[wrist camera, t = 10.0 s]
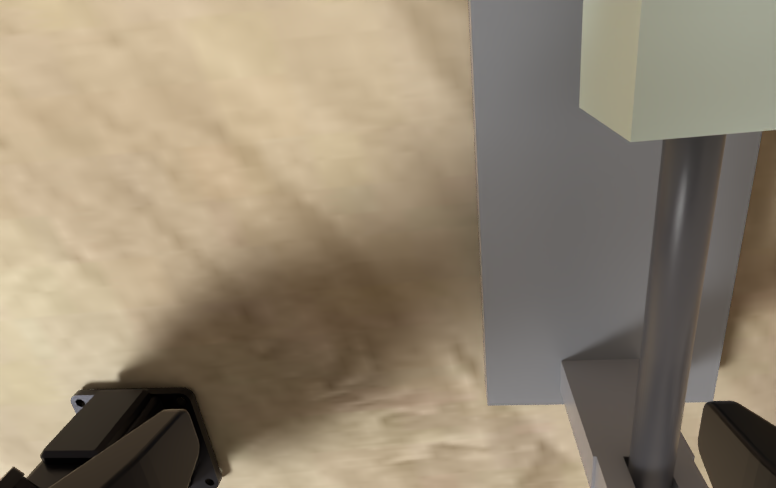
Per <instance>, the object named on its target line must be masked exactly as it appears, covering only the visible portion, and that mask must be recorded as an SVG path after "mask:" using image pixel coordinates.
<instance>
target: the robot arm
mask: <svg viewBox="0 0 776 488" xmlns="http://www.w3.org/2000/svg"><path fill="white" fill-rule="evenodd" d="M181 397H182V398H181ZM183 398H184V399H183ZM71 404H72V406H73V408H74V410H75V412H76V415H75V416H74V417H73V418H72V420H71V421H70V422H69V423H68V424H67V425H66V426H65V427H64V428H63V429H62V430H61V431H60V432H59V434H58V435H57V436H56V437H55V438H54V439H53V440H52V441H51V442H50V443H49V444H48V445H47V446H46V448H45V449H44V450H43V452H42V453H41V455H40V456H41V459H42V461H41V462H40V464H39V465H38V466H37V467H36V468H35V469H34V470H33V471H32V472H31V473H30V475H29V476H28V477H27V478H25V477H23V476H24V473H23V472H21V471H20V470H18V469H17V468H15V467H12V468H11V469H10V470H9V471H8V472H7V473H6V474H5V475H4V476H3V477H2V478H1V479H0V488H217V487H218V485H219V483H220V481H221V479H222V476H221V473H220V470H219V467H218V464H217V461H216V458H215V455H214V452H213V449H212V446H211V443H210V440H209V437H208V434H207V431H206V428H205V425H204V422H203V419H202V416H201V413H200V410H199V407H198V404H197V401H196V398H195V396H194V394H193V392H192V391H190V390H189V389H187V388H147V389H102V390H79V391H78V392H77V393H76V394H75V395H74V396H73V397H72V398H71ZM698 448H699V452H700V455H701V458H702V461H703V463H704V466H705V468H706V471H707V474H708V476H709V479H710V481H711V484H712V486H713V488H776V426H774V425H773V424H771V423H770V422H768V421H766V420H765V419H763V418H762V417H760V416H758V415H757V414H755V413H754V412H752V411H750V410H749V409H747V408H745V407H744V406H742V405H741V404H739V403H737V402H734V401H710V402H707V403H706V404H705V406H704V408H703V413H702V419H701V425H700V430H699V436H698Z"/></svg>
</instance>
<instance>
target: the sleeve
mask: <svg viewBox="0 0 776 488" xmlns="http://www.w3.org/2000/svg"><path fill="white" fill-rule="evenodd" d="M579 108H581V109H582V110H584V111H585V112H587V113H588V114H590V115H591V116H593V117H594V118H595V119H597V120H598V121H600V122H601V123H603V124H604V125H606V126H607V127H609V128H610V129H612V130H613V131H615V132H616V133H618V134H619V135H620V136H622V137H623V138H625V139H626V140H628V141H629V142H639V141H651V140H663V139H675V138H687V137H699V136H711V135H722V134H734V133H746V132H758V131H770V130H776V0H583V18H582V44H581V71H580V97H579Z"/></svg>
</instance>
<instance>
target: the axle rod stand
mask: <svg viewBox="0 0 776 488" xmlns="http://www.w3.org/2000/svg"><path fill="white" fill-rule="evenodd" d="M468 6H469V28H470V51H471V73H472V95H473V118H474V140H475V163H476V185H477V208H478V230H479V253H480V275H481V298H482V320H483V343H484V365H485V385H486V394H487V403H488V405H548V404H565V408H566V411H567V414H568V417H569V421H570V424H571V427H572V430H573V434H574V437H575V440H576V443H577V447H578V450H579V453H580V457H581V460H582V463H583V466H584V470H585V473H586V476H587V479H588V483H589V486H590V488H709V487H708V486H707V484H706V482H705V480H704V479H703V477H702V475H701V473H700V471H699V470H698V468H697V466H696V464H695V462H694V457H695V456H694V454H693V453H692V451H691V449H690V447H689V446H688V444H687V442H686V440H685V438H684V437H683V435H682V433H681V431H680V430H681V424H682V417H683V411H684V404H685V402H710V401H713V398H714V392H715V387H716V381H717V376H718V370H719V365H720V359H721V354H722V349H723V343H724V338H725V332H726V327H727V321H728V316H729V310H730V305H731V299H732V294H733V289H734V283H735V278H736V272H737V267H738V261H739V256H740V250H741V245H742V240H743V234H744V229H745V223H746V218H747V212H748V207H749V201H750V196H751V191H752V185H753V180H754V174H755V169H756V163H757V158H758V152H759V147H760V142H761V136H762V131H758V132H746V133H734V134H722V135H711V136H699V137H687V138H675V139H663V140H651V141H639V142H629V141H628V140H626V139H625V138H623V137H622V136H620V135H619V134H618V133H616V132H615V131H613V130H612V129H610V128H609V127H607V126H606V125H604V124H603V123H601V122H600V121H598V120H597V119H595V118H594V117H593V116H591V115H590V114H588V113H587V112H585V111H584V110H582V109H581V108H579V97H580V71H581V44H582V18H583V0H468Z"/></svg>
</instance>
